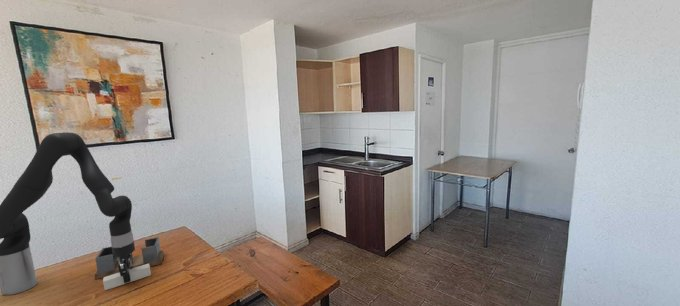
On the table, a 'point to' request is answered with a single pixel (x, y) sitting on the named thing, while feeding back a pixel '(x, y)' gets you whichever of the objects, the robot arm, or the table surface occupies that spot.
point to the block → (134, 275)
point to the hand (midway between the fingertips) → (128, 278)
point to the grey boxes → (109, 262)
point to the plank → (136, 263)
